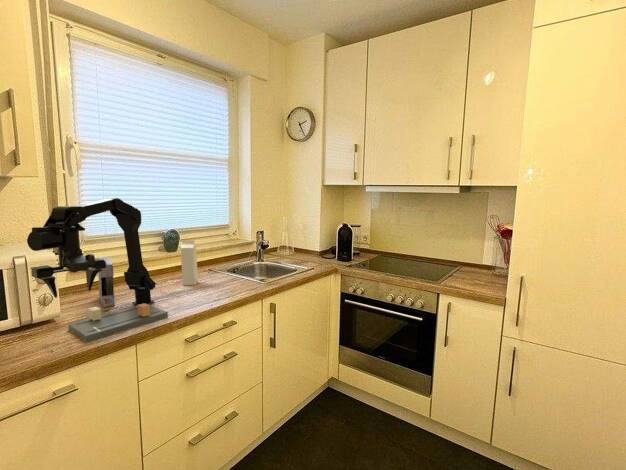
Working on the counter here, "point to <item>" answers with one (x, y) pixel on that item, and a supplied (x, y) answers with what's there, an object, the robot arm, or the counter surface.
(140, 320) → the panel
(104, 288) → the striped narrow carton
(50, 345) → the counter surface
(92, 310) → the cream slider
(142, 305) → the copper slider
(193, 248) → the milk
